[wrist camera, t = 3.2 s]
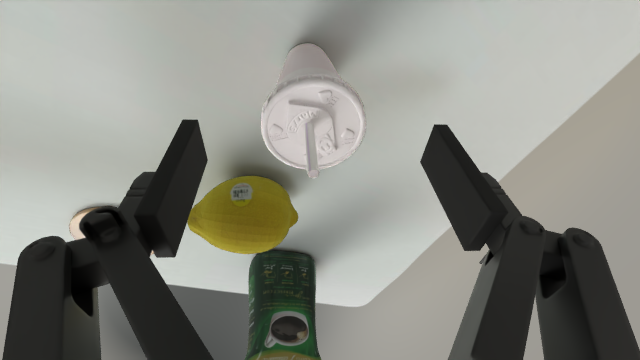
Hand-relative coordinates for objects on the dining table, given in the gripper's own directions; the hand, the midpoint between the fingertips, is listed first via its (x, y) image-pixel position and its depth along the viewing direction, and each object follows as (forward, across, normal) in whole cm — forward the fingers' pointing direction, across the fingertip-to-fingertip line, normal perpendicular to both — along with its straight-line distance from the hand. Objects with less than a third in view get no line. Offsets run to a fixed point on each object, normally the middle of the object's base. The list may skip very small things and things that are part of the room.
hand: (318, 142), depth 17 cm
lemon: (+11, -6, -14) cm, 19 cm away
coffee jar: (+11, -3, -30) cm, 32 cm away
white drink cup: (+11, 0, 0) cm, 11 cm away
